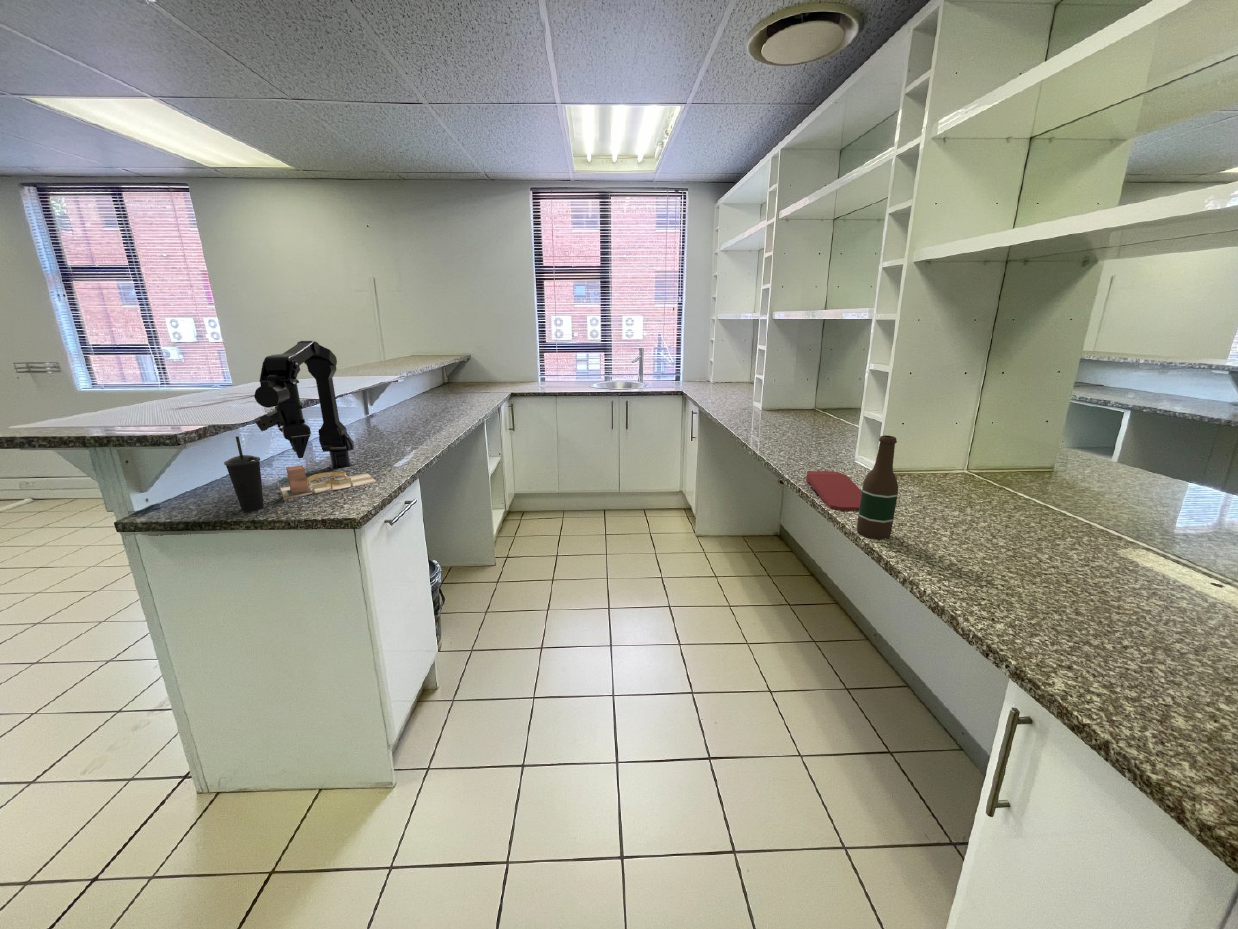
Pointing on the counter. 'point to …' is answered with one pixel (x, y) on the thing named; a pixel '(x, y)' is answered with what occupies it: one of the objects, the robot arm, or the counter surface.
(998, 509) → the counter surface
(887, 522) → the beer bottle
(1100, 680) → the counter surface
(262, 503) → the drinking cup
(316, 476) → the bent wooden frame
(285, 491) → the beige board
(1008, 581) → the counter surface
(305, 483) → the block
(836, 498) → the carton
